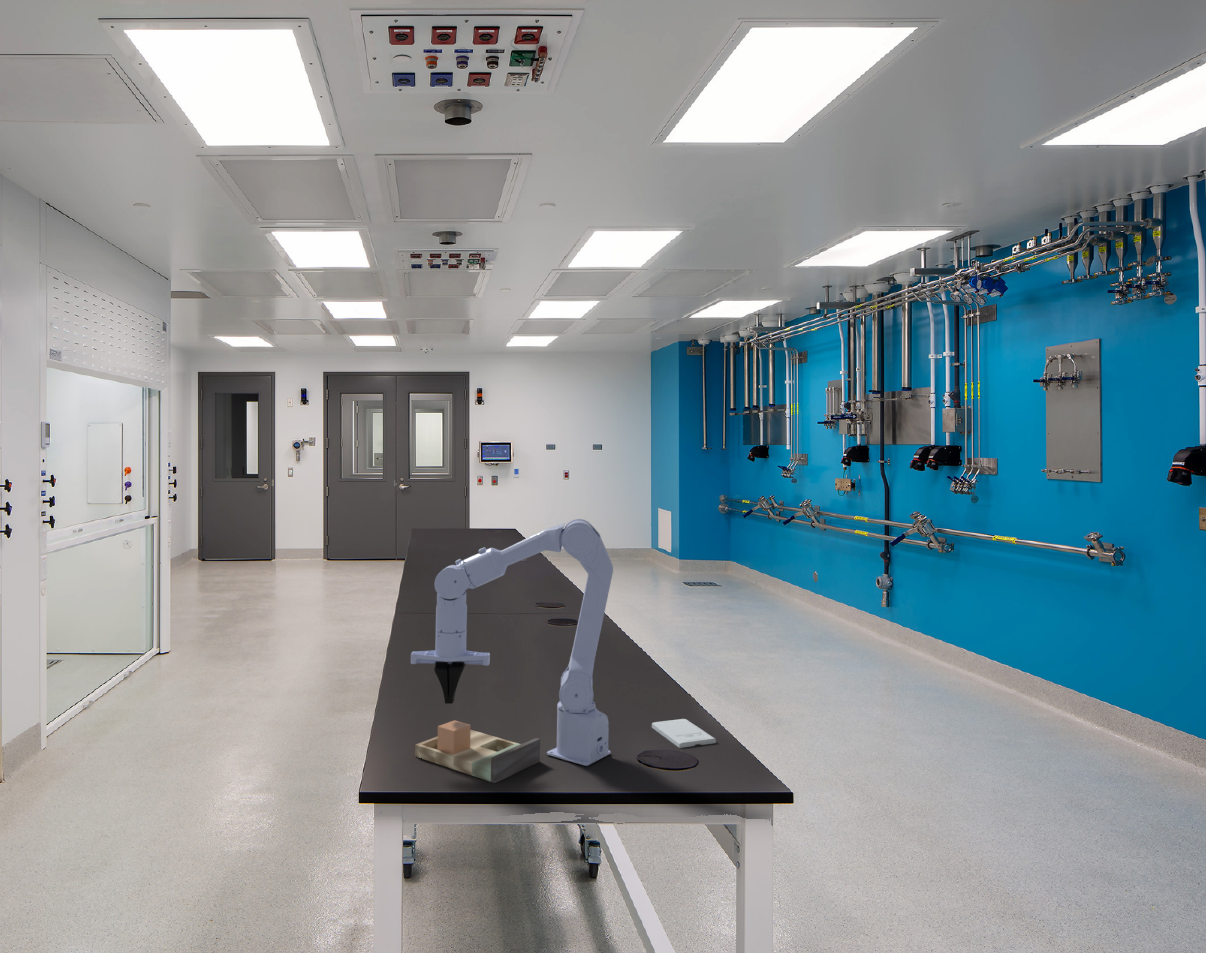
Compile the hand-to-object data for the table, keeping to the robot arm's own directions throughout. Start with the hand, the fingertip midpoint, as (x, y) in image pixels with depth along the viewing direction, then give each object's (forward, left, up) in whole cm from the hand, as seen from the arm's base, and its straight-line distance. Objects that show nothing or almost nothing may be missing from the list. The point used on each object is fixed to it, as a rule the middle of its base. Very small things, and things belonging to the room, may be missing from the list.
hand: (449, 702), depth 146 cm
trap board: (-6, -1, -10) cm, 12 cm away
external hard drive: (-31, -36, -11) cm, 48 cm away
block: (-3, +2, -7) cm, 8 cm away
